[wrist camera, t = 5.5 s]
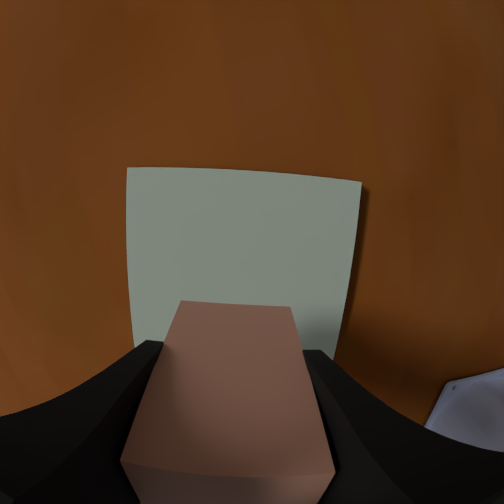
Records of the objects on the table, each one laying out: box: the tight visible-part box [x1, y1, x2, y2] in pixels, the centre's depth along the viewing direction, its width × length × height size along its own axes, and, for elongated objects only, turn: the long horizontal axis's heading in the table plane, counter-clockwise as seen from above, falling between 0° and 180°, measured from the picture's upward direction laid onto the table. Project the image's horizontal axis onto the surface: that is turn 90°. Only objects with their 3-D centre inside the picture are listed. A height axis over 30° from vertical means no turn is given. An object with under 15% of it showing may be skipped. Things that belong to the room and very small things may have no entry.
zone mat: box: [126, 167, 362, 360], centre depth 16 cm, size 12×12×1 cm
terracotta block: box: [120, 300, 335, 504], centre depth 8 cm, size 4×4×7 cm
